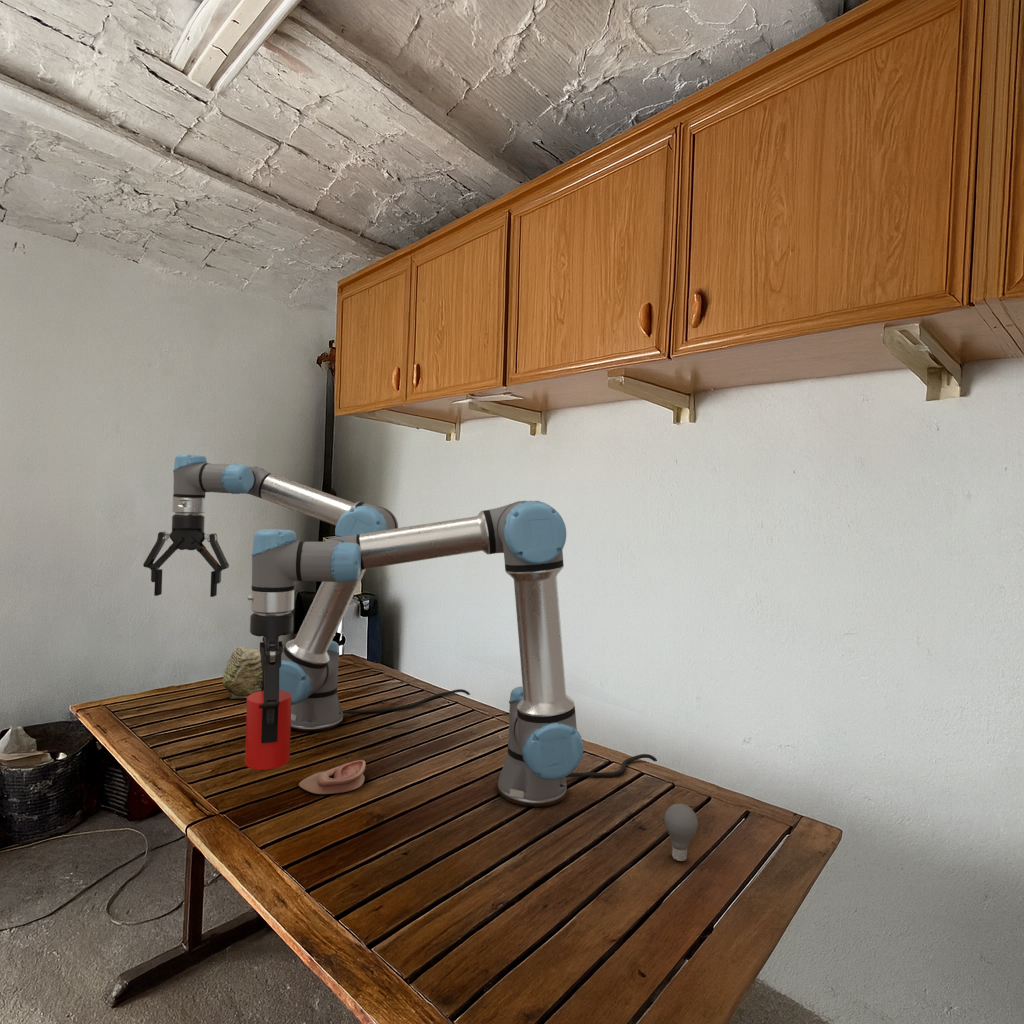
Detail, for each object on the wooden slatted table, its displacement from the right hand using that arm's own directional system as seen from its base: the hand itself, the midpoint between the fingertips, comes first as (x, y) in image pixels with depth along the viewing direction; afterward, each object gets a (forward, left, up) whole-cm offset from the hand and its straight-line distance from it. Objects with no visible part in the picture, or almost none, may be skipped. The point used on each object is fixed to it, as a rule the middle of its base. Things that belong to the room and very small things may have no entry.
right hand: (268, 733), depth 119 cm
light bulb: (-70, +33, -19) cm, 79 cm away
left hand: (+19, -59, +17) cm, 64 cm away
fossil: (+1, -86, -19) cm, 88 cm away
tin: (0, 0, -5) cm, 5 cm away
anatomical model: (-14, -17, -19) cm, 29 cm away
